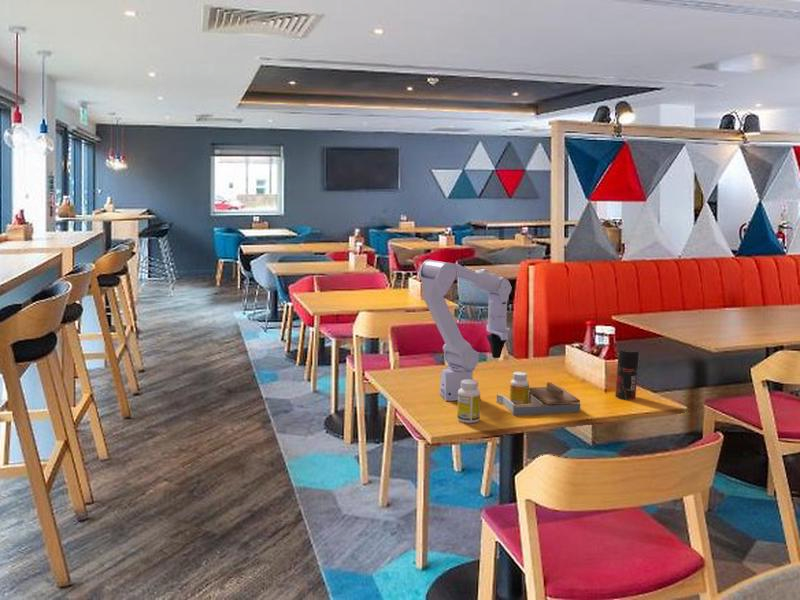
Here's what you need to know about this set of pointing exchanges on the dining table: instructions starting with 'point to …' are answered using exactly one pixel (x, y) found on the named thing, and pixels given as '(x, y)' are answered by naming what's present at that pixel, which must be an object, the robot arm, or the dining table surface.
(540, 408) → the socket
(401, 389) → the dining table surface
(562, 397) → the cover
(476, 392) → the pill bottle
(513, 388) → the supplement bottle
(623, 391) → the deodorant
